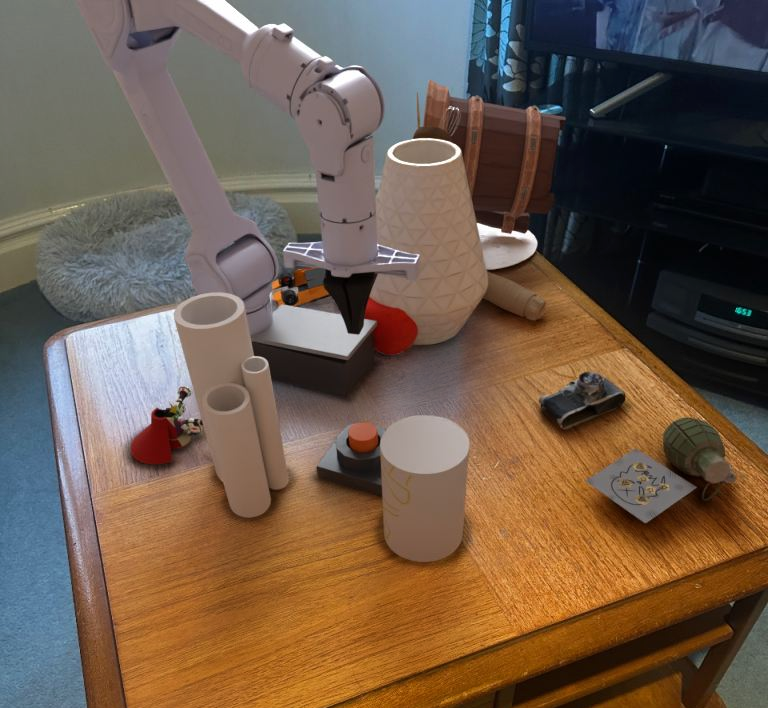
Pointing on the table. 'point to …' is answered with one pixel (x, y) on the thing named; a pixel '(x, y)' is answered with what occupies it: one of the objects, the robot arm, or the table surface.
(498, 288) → the handle
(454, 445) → the cup
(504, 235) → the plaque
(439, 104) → the wooden chest
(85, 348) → the table surface
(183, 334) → the vase
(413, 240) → the vase
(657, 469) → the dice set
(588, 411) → the camera
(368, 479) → the block
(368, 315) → the apple
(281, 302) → the toy car
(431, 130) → the utensil holder
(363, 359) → the lidded storage box
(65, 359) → the table surface
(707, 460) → the grenade
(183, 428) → the action figure
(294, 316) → the lid
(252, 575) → the table surface
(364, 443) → the button
